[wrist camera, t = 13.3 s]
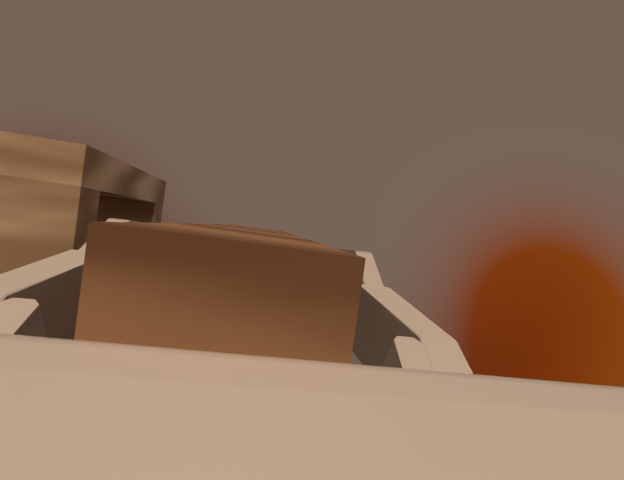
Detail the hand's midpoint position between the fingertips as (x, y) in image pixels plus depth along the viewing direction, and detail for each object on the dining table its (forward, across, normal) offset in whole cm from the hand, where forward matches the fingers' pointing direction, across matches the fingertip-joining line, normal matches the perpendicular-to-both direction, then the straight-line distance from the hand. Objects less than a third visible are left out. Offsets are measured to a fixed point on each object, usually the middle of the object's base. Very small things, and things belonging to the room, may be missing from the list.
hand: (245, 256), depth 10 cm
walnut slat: (+5, 0, -5) cm, 7 cm away
